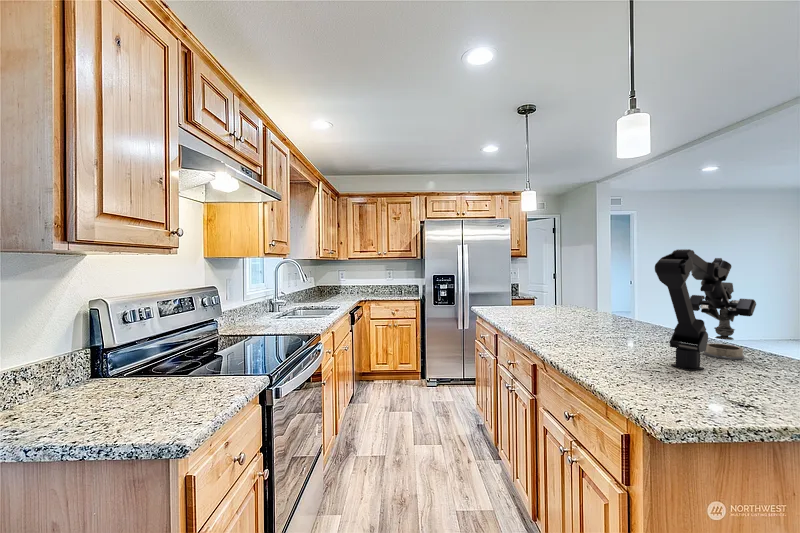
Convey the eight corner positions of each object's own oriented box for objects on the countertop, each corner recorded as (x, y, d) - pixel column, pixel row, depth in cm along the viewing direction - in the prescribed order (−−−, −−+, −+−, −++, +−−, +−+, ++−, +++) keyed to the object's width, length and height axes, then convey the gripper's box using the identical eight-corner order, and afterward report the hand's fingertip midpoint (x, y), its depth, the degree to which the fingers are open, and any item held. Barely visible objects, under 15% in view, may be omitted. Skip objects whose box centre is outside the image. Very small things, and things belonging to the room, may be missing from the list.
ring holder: (728, 360, 137) (728, 351, 137) (695, 352, 148) (695, 344, 148) (752, 358, 140) (753, 349, 140) (719, 350, 151) (719, 342, 151)
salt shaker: (721, 336, 147) (721, 304, 147) (738, 339, 142) (739, 306, 141) (710, 337, 145) (710, 305, 145) (727, 340, 140) (728, 306, 140)
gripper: (755, 276, 133) (765, 306, 139) (691, 273, 149) (703, 301, 155) (745, 300, 129) (756, 330, 135) (681, 295, 145) (693, 322, 151)
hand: (725, 319), depth 144 cm, fingers closed on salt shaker, 4 cm apart
